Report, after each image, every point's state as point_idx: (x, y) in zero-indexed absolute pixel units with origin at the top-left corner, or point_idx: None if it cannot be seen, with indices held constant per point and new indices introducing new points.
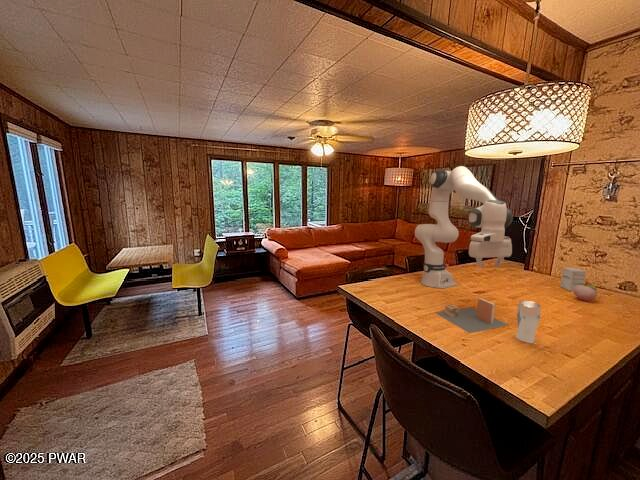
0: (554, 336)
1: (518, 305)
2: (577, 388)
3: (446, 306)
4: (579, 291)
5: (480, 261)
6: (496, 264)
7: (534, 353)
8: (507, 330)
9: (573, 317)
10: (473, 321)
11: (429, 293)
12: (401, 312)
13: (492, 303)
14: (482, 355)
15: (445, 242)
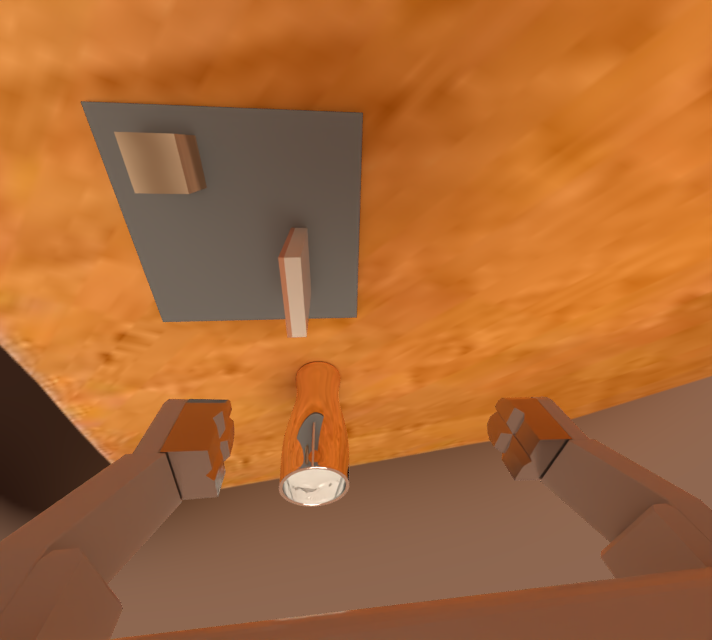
0: (416, 382)
1: (289, 461)
2: (252, 481)
3: (119, 144)
4: None
5: (102, 560)
6: (511, 429)
7: (280, 416)
8: (323, 331)
9: (619, 325)
10: (243, 257)
11: None
12: None
13: (299, 329)
14: (136, 400)
15: None
